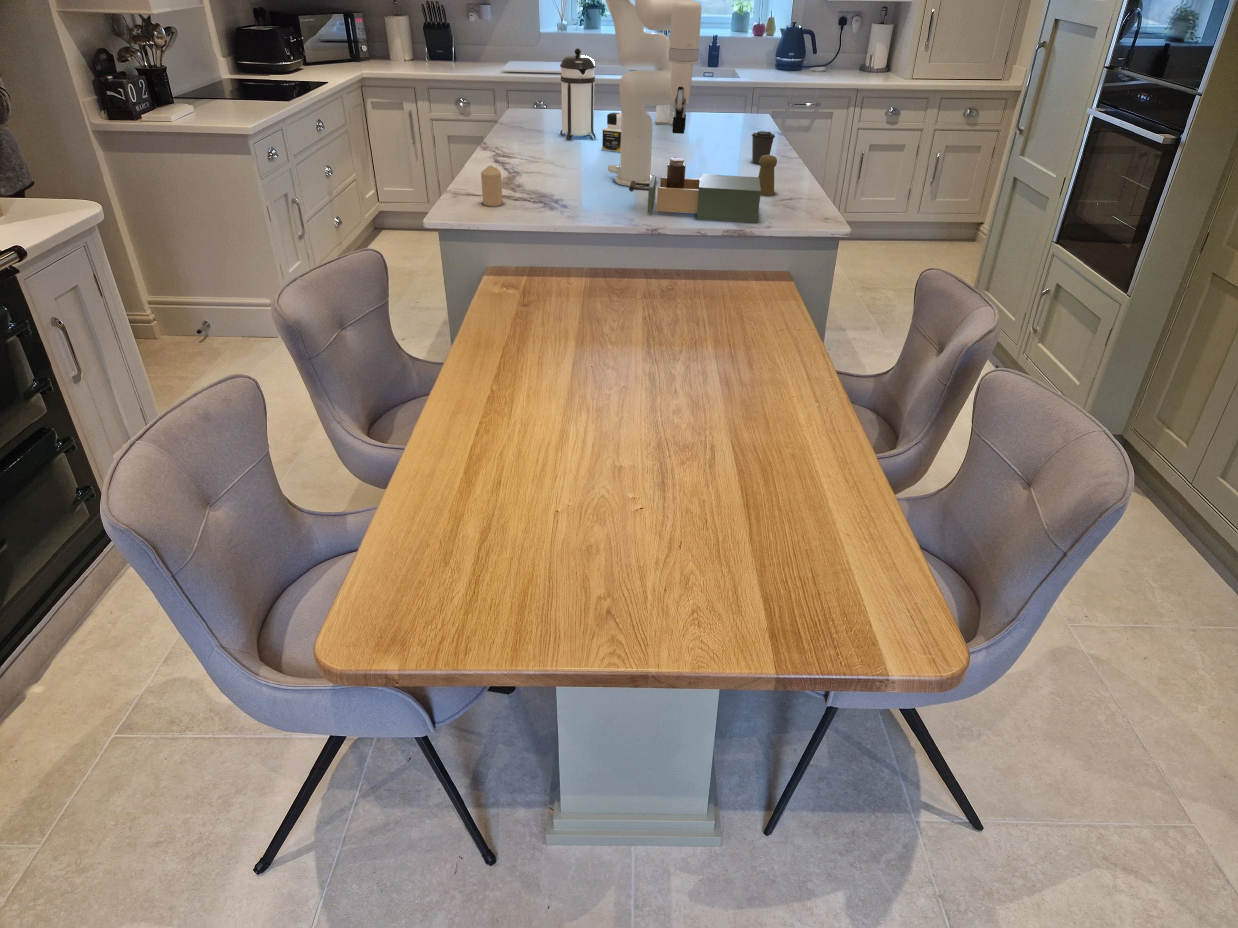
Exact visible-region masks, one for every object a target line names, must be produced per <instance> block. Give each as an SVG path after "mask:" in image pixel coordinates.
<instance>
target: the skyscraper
mask: <svg viewBox="0 0 1238 928" xmlns="http://www.w3.org/2000/svg"><path fill="white" fill-rule="evenodd" d="M674 106H675V102H674V103H672V105H671V104H669V105H656V106H655V115H656V116H655V124H656V125H665V126H667V125H668V126H673V117H674Z"/></svg>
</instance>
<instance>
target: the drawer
mask: <svg viewBox="0 0 1238 928" xmlns="http://www.w3.org/2000/svg"><path fill="white" fill-rule="evenodd" d="M651 176H652V178H651V181H650V183H636V182H635V181H632V182H631V184H630V186H628V191H629V192H630V193H632V192H634V191H646V192H648V194H647V213H653V210H654V205H655V201H656V212H665V213H681V214H682V213H683V214H697V207H698V195H699V183H700V178H686V177H685V182H684V189H681V188H666V183H667V176H660V178H659V179H660V180H659V181H660V182H659V186H658V187H657V175H656V174H652V175H651ZM635 185H639V187H636V186H635ZM656 188H657V189H656ZM656 190H657V199H656Z"/></svg>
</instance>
